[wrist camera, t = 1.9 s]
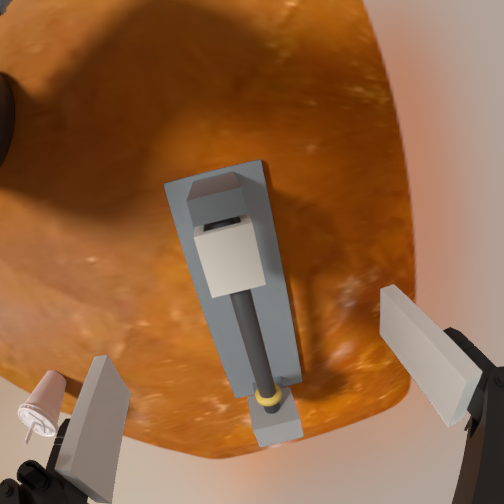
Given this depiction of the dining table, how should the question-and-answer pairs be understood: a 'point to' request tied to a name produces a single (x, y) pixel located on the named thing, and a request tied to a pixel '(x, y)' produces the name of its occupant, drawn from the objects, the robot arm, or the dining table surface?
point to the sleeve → (230, 256)
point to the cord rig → (244, 297)
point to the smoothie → (44, 406)
